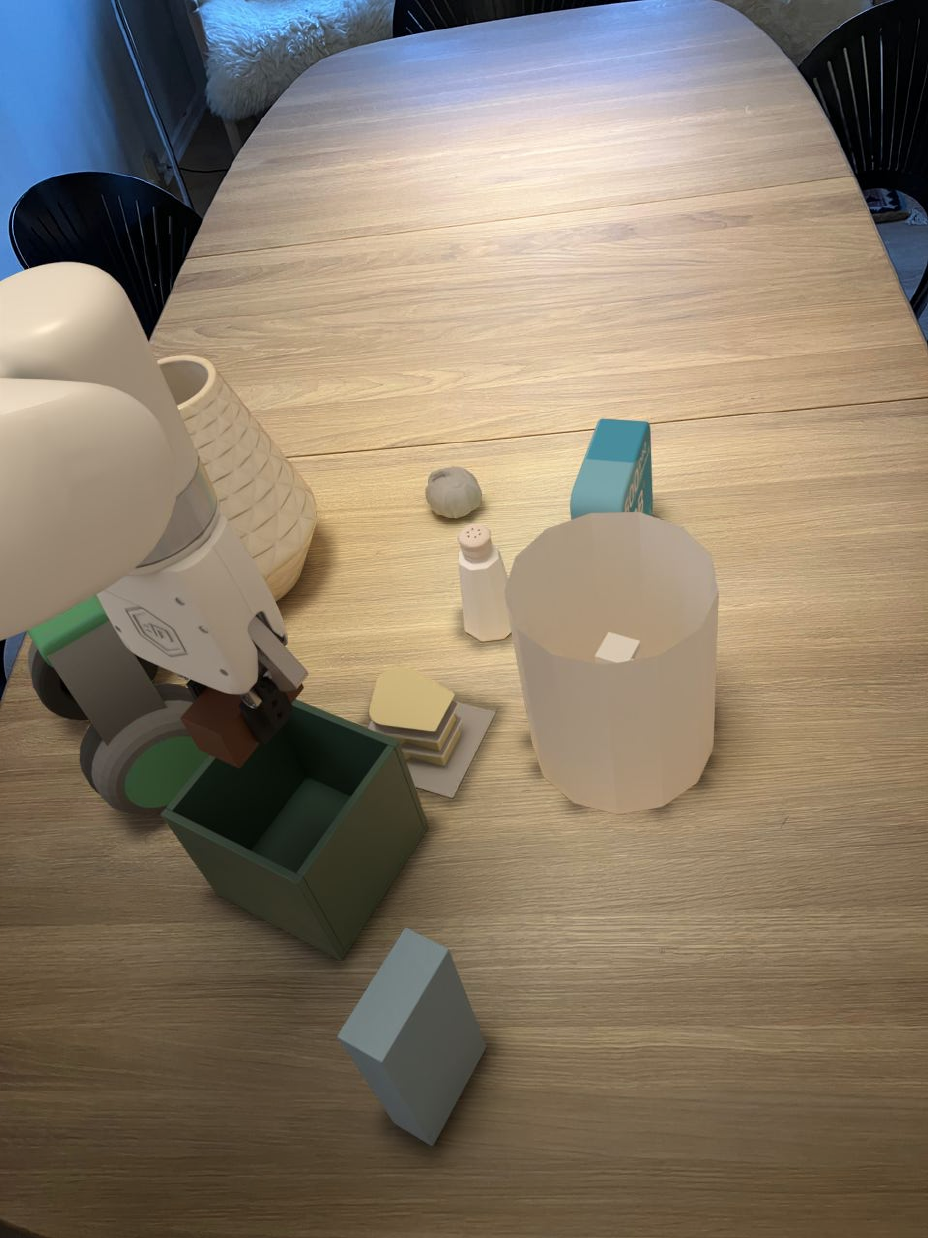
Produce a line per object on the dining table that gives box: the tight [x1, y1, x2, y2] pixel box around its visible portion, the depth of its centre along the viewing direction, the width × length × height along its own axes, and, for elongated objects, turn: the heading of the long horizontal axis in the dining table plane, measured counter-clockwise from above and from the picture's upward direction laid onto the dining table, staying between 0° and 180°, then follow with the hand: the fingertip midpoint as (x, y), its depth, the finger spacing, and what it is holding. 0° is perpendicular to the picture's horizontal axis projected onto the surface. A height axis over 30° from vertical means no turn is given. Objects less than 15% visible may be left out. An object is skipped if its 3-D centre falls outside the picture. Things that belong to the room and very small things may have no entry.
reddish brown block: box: [180, 665, 305, 768], centre depth 66 cm, size 7×4×4 cm, turn 149°
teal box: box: [569, 418, 654, 520], centre depth 93 cm, size 12×4×12 cm, turn 162°
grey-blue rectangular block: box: [336, 927, 487, 1147], centre depth 62 cm, size 7×3×15 cm, turn 149°
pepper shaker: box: [457, 523, 512, 643], centre depth 90 cm, size 5×5×11 cm
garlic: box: [424, 465, 483, 519], centre depth 104 cm, size 6×5×5 cm
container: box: [504, 512, 720, 815], centre depth 77 cm, size 14×14×18 cm
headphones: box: [26, 595, 209, 817], centre depth 84 cm, size 19×11×20 cm, turn 36°
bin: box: [160, 698, 430, 962], centre depth 76 cm, size 12×12×12 cm
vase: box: [156, 354, 318, 602], centre depth 95 cm, size 17×17×23 cm
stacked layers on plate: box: [367, 665, 497, 799], centre depth 85 cm, size 10×9×6 cm
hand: (249, 714), depth 67 cm, fingers closed on reddish brown block, 3 cm apart
